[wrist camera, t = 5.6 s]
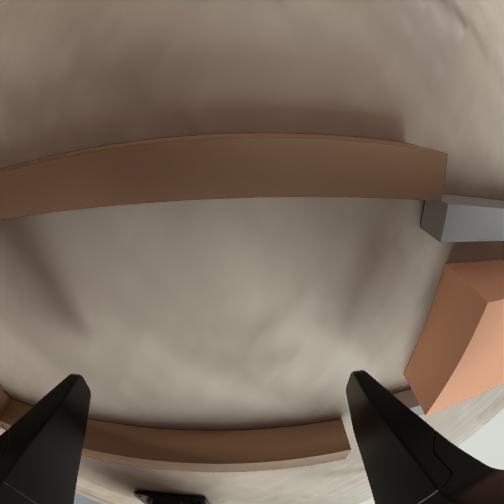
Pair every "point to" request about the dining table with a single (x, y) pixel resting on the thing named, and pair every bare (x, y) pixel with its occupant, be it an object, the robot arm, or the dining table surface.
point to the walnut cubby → (217, 187)
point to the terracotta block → (461, 337)
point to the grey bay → (458, 236)
